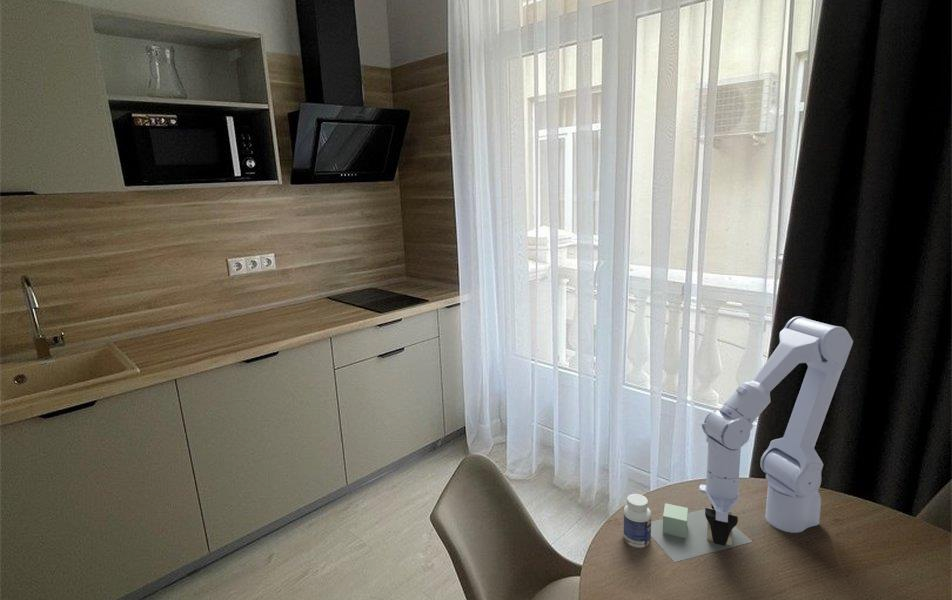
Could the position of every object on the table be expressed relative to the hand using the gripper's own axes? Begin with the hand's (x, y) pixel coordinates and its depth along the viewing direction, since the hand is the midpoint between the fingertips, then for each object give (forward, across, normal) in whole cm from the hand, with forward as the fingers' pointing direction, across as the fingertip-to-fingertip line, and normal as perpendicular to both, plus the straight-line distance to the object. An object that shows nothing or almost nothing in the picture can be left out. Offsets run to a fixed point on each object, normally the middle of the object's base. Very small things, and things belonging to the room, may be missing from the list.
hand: (719, 531), depth 99 cm
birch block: (+1, 0, 0) cm, 1 cm away
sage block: (+1, +1, -8) cm, 8 cm away
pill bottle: (+2, +7, -15) cm, 17 cm away
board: (+2, +1, -4) cm, 5 cm away
